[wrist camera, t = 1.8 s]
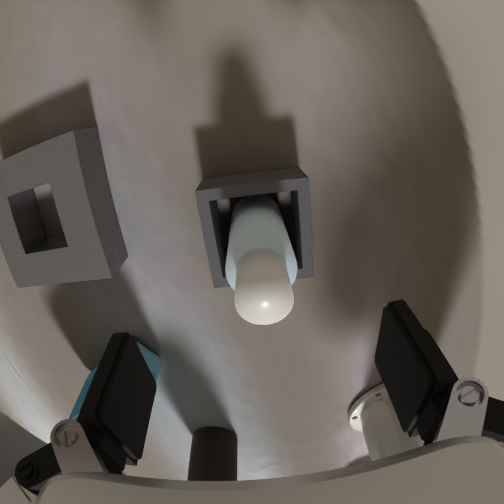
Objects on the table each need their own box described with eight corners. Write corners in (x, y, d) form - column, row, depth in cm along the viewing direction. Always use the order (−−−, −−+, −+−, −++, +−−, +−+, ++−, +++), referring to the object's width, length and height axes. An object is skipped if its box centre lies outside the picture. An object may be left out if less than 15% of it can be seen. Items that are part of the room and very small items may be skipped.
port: (97, 126, 21) (69, 131, 17) (128, 256, 26) (109, 281, 22) (5, 162, 22) (-25, 173, 18) (36, 268, 27) (14, 290, 23)
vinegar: (190, 442, 41) (179, 553, 23) (195, 422, 38) (182, 550, 20) (232, 448, 41) (231, 558, 23) (241, 429, 39) (242, 555, 21)
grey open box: (298, 167, 23) (308, 177, 20) (304, 253, 27) (313, 276, 23) (203, 179, 24) (195, 191, 20) (218, 263, 27) (214, 288, 23)
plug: (278, 191, 24) (305, 259, 13) (282, 236, 26) (307, 328, 15) (228, 197, 24) (214, 269, 14) (235, 242, 26) (229, 337, 15)
